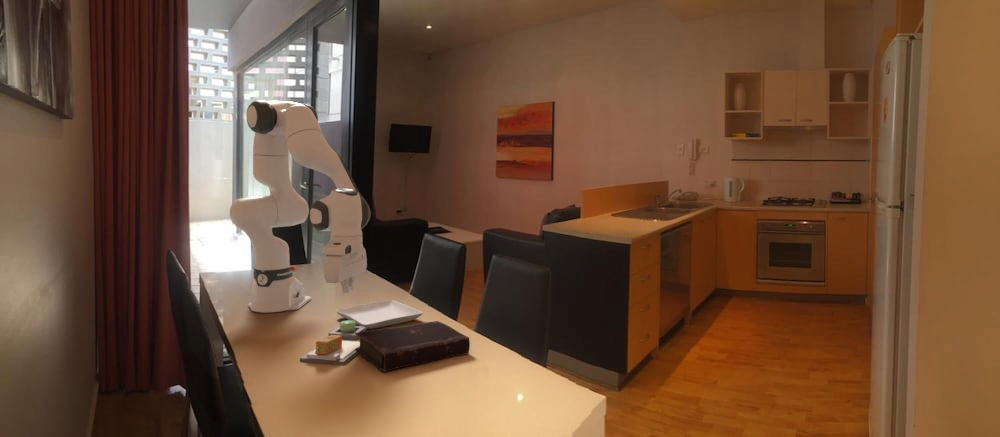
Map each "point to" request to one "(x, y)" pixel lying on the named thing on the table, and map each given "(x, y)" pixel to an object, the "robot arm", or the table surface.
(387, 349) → the diary
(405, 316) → the salad plate
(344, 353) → the clipboard
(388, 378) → the table surface
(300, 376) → the table surface
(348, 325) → the button
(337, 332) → the button bezel
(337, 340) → the supplement box
